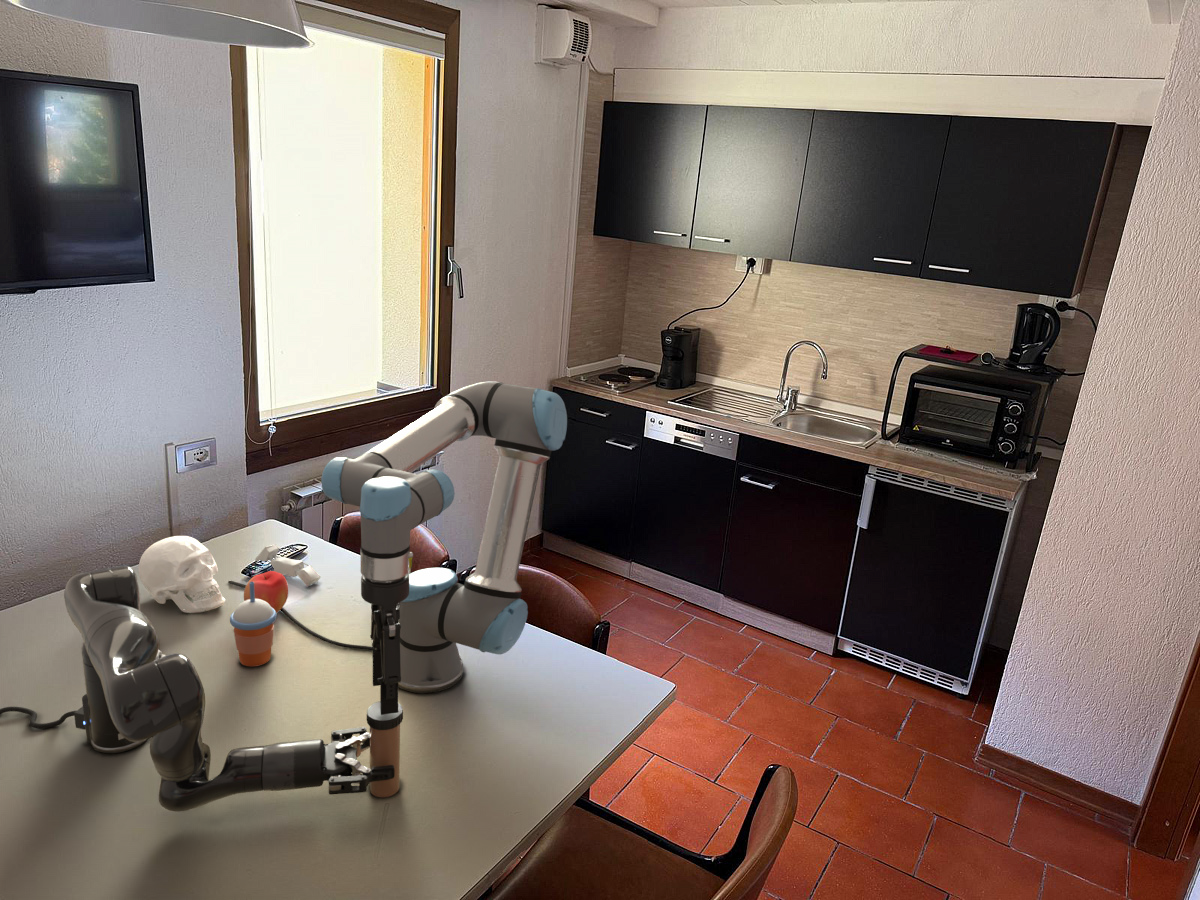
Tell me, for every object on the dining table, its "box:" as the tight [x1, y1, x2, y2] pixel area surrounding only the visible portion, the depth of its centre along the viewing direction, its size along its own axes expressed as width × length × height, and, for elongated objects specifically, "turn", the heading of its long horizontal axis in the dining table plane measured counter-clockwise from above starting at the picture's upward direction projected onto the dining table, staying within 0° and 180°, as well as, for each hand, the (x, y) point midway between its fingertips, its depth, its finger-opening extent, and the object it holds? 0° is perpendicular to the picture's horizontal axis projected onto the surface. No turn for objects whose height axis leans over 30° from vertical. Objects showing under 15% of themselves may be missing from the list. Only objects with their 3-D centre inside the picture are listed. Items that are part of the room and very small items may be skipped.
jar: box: [369, 723, 401, 798], centre depth 146 cm, size 5×5×15 cm
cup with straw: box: [229, 582, 278, 667], centre depth 180 cm, size 9×9×18 cm
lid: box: [366, 700, 404, 730], centre depth 144 cm, size 6×6×2 cm
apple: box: [243, 570, 289, 614], centre depth 199 cm, size 10×10×10 cm
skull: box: [138, 535, 226, 614], centre depth 202 cm, size 13×22×16 cm, turn 73°
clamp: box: [254, 544, 322, 587], centre depth 219 cm, size 20×4×7 cm, turn 62°
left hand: (393, 755), depth 146 cm, fingers open, 8 cm apart
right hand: (385, 697), depth 143 cm, fingers open, 8 cm apart
